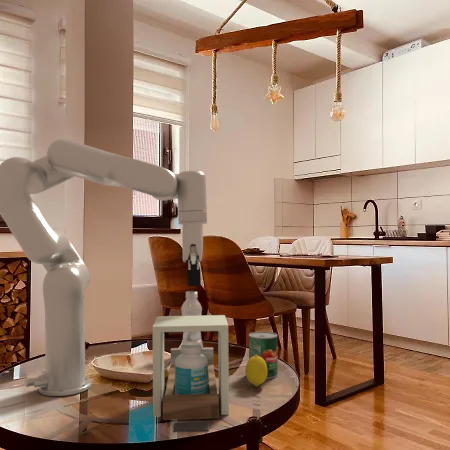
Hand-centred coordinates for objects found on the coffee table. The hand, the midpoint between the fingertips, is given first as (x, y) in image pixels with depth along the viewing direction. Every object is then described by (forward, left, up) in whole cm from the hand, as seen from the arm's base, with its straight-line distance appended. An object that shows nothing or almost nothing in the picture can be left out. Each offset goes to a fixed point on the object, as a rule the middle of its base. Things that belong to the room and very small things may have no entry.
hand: (194, 283), depth 123 cm
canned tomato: (+18, -7, -26) cm, 32 cm away
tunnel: (-10, -13, -26) cm, 30 cm away
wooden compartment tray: (-6, -7, -25) cm, 27 cm away
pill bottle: (-10, -13, -26) cm, 31 cm away
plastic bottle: (+15, +23, -26) cm, 38 cm away
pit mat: (-17, -23, -26) cm, 38 cm away
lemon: (+10, -13, -26) cm, 31 cm away
